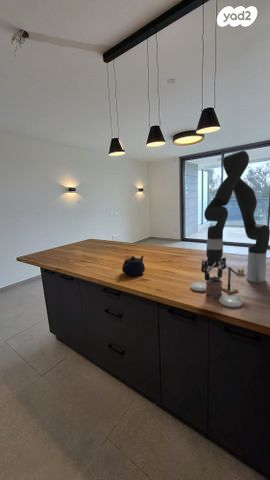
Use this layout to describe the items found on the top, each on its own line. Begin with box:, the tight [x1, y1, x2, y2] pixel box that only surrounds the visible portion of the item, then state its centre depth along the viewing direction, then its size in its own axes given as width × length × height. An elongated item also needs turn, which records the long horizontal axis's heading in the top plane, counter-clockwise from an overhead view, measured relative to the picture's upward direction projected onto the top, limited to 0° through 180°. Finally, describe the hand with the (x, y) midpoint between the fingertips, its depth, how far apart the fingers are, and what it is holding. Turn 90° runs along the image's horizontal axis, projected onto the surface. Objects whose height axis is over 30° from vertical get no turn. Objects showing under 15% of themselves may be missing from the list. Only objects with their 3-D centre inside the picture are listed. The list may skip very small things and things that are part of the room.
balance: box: [222, 264, 247, 295], centre depth 112 cm, size 5×18×16 cm, turn 27°
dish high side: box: [190, 282, 206, 292], centre depth 117 cm, size 10×10×2 cm
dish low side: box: [218, 294, 243, 308], centre depth 99 cm, size 10×10×2 cm
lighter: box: [205, 275, 223, 298], centre depth 107 cm, size 8×3×10 cm, turn 92°
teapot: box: [121, 255, 146, 277], centre depth 146 cm, size 25×16×12 cm, turn 145°
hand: (213, 278), depth 107 cm, fingers open, 8 cm apart
